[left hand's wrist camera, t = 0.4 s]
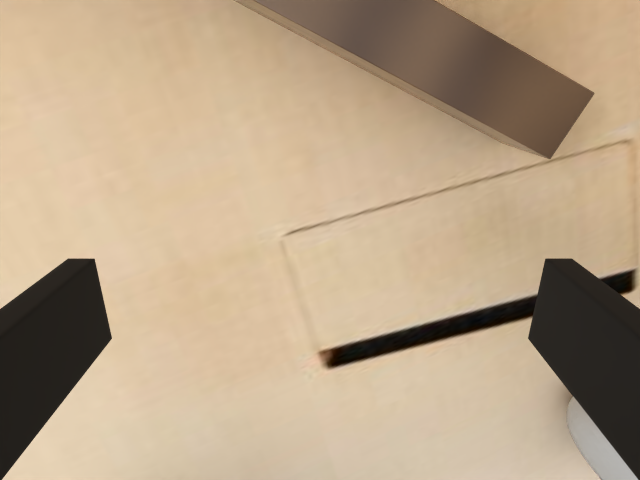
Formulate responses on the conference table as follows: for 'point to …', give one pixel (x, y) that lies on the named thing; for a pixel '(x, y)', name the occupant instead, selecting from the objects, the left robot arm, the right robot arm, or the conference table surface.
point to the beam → (443, 64)
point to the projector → (595, 445)
